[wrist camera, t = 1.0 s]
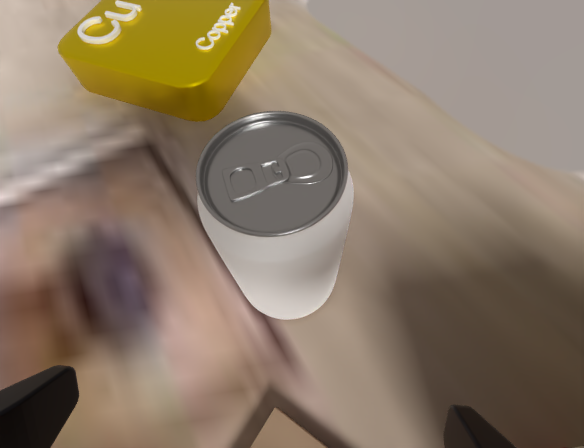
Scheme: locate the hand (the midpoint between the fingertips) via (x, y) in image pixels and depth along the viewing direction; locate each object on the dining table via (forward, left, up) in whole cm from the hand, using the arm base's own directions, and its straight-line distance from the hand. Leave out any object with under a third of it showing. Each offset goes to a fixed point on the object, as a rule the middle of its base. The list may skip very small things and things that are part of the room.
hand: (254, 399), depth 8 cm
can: (+6, +4, -13) cm, 15 cm away
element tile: (+19, +26, -14) cm, 35 cm away
